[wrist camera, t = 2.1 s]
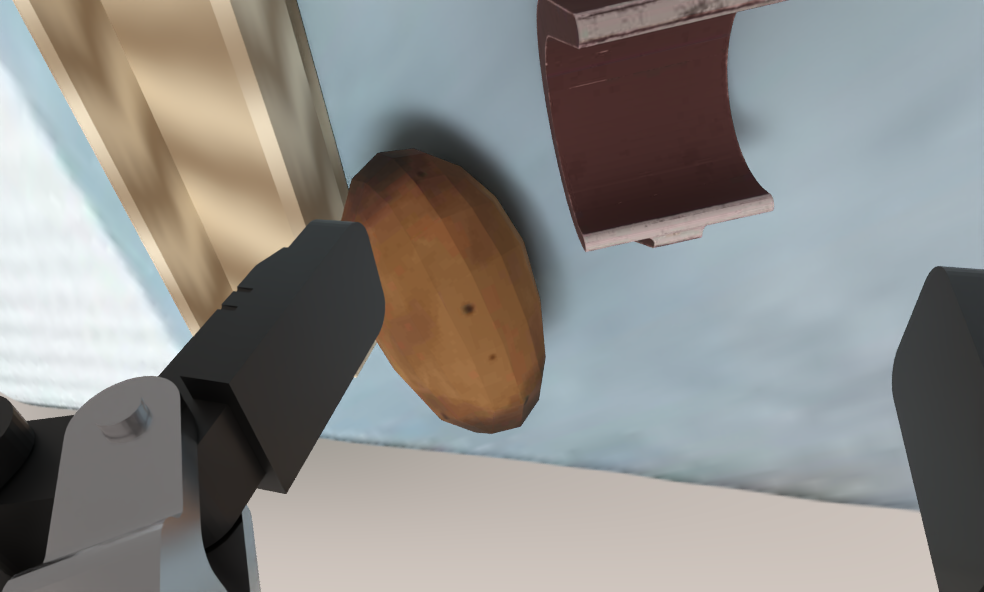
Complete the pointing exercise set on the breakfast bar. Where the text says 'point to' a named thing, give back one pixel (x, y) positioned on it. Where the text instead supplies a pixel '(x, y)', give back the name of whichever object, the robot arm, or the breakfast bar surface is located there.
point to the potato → (452, 289)
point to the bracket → (645, 117)
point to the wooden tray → (199, 129)
